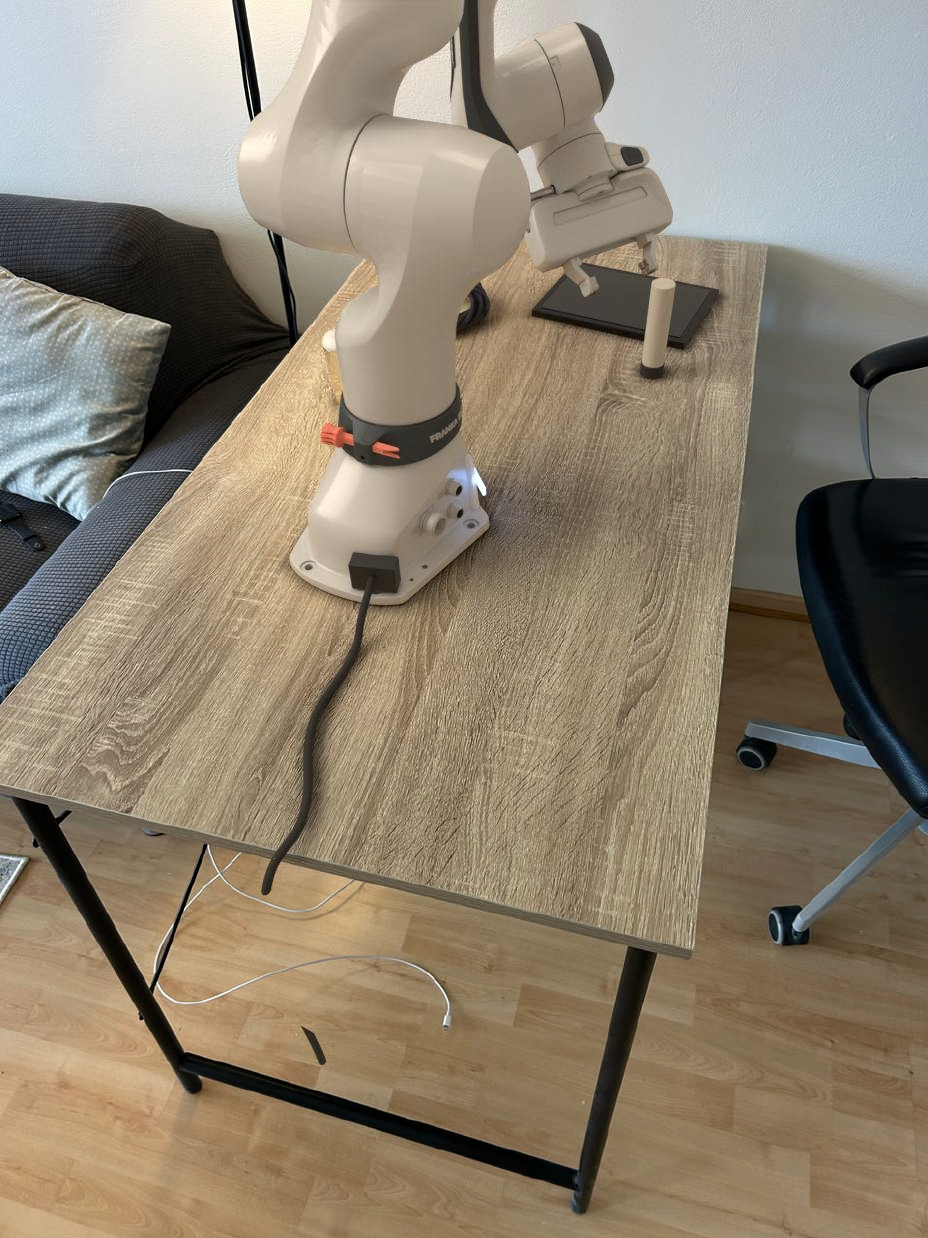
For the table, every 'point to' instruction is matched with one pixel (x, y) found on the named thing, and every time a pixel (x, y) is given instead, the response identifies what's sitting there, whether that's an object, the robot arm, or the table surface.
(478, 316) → the cable
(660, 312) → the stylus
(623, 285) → the tablet
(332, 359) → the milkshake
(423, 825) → the table surface
